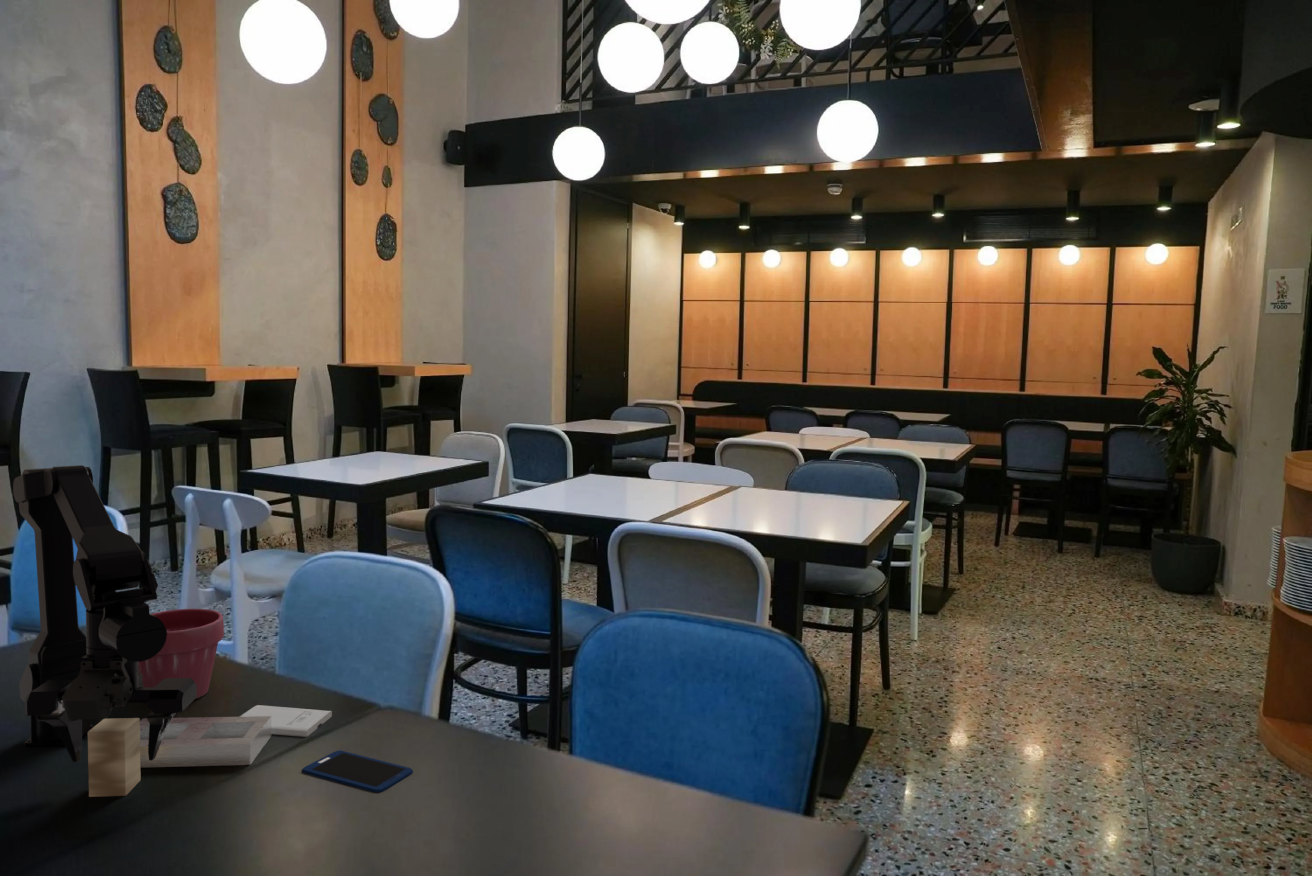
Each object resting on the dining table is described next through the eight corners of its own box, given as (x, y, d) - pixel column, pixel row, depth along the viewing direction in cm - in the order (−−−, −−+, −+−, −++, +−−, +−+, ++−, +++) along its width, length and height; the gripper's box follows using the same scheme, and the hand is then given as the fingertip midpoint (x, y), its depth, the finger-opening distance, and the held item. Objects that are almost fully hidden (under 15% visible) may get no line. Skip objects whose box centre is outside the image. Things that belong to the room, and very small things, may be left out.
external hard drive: (257, 713, 146) (332, 719, 145) (228, 734, 138) (306, 739, 137) (257, 703, 146) (332, 709, 145) (228, 723, 138) (306, 729, 137)
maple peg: (89, 796, 117) (87, 732, 116) (105, 780, 121) (104, 718, 120) (125, 795, 117) (124, 731, 117) (140, 779, 122) (139, 717, 121)
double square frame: (112, 767, 125) (111, 746, 124) (143, 738, 135) (143, 718, 134) (250, 764, 127) (250, 743, 127) (271, 735, 137) (271, 715, 137)
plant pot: (109, 698, 149) (108, 621, 148) (189, 674, 162) (188, 603, 161) (163, 717, 143) (162, 636, 142) (242, 690, 155) (242, 616, 154)
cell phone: (337, 754, 132) (337, 748, 132) (415, 774, 126) (415, 768, 126) (299, 774, 125) (299, 768, 125) (379, 796, 120) (379, 790, 120)
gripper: (-3, 664, 108) (0, 791, 110) (163, 662, 111) (165, 786, 112) (47, 636, 119) (49, 751, 121) (197, 635, 122) (199, 748, 123)
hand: (114, 760), depth 119 cm, fingers open, 9 cm apart
